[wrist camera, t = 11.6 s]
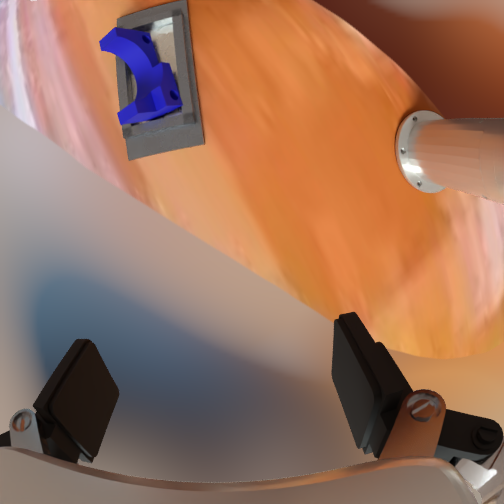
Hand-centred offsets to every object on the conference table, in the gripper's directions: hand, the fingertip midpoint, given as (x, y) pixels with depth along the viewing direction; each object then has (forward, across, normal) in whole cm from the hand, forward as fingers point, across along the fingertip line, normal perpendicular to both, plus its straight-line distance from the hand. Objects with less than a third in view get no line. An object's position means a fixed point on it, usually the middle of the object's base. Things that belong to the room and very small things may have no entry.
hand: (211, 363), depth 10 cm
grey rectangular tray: (+28, +7, -20) cm, 35 cm away
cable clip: (+26, +7, -19) cm, 33 cm away
